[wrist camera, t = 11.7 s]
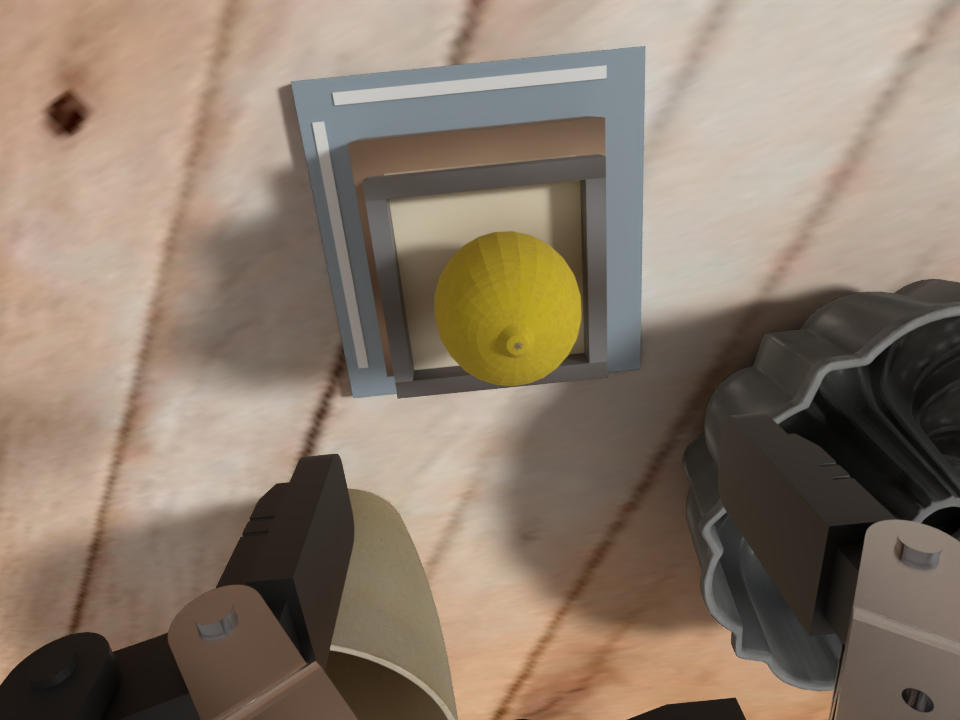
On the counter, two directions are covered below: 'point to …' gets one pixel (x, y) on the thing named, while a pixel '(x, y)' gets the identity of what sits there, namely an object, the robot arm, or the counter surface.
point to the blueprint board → (464, 104)
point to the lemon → (508, 308)
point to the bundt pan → (835, 448)
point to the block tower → (479, 231)
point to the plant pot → (388, 625)
